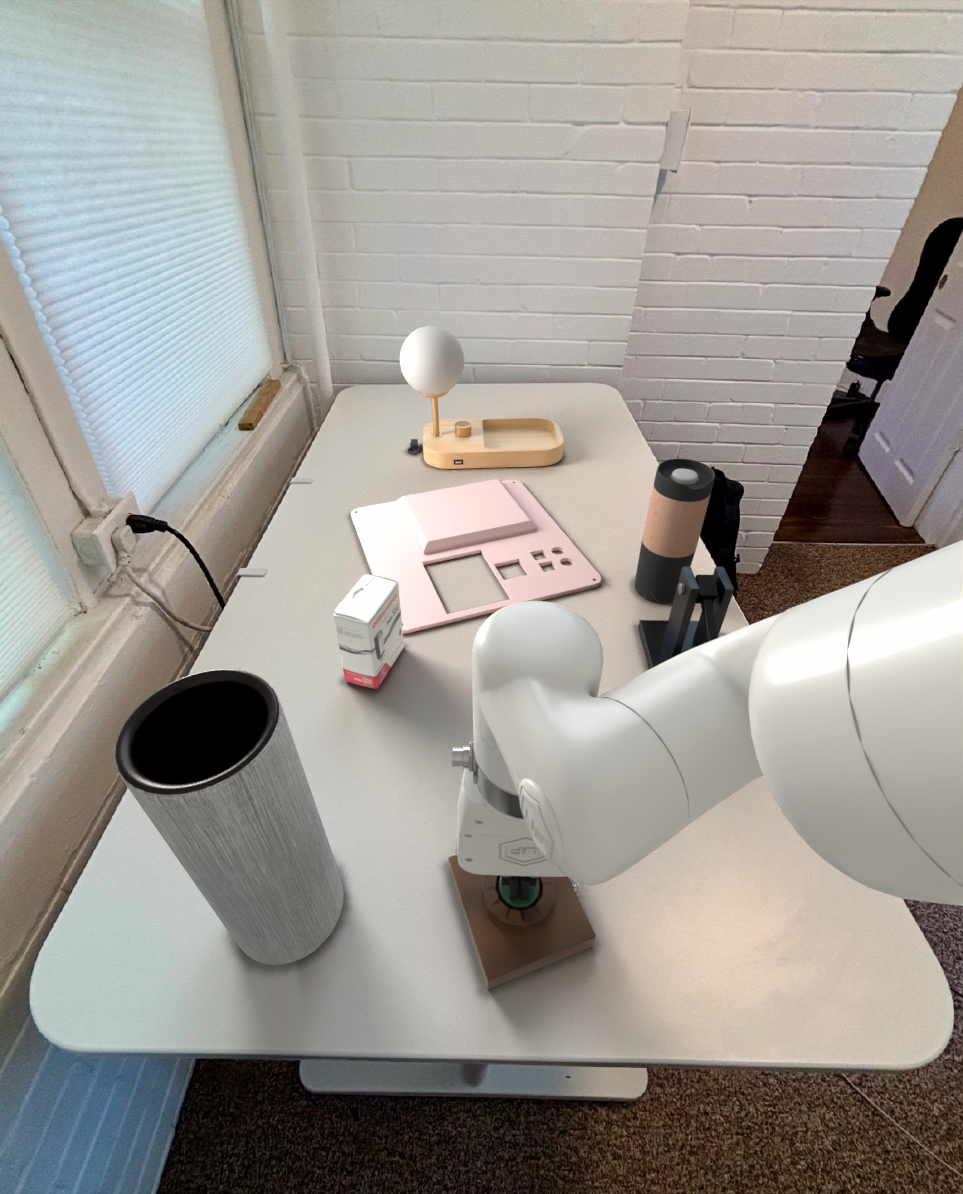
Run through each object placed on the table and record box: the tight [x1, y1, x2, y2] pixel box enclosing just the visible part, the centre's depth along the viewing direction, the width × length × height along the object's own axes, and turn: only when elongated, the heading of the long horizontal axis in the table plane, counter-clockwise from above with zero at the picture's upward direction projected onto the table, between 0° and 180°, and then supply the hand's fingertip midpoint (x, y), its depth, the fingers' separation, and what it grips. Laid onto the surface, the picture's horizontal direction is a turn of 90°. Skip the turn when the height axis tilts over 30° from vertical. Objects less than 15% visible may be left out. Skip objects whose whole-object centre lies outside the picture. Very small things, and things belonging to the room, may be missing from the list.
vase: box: [113, 668, 345, 966], centre depth 46 cm, size 10×10×27 cm
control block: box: [448, 854, 597, 990], centre depth 54 cm, size 11×10×4 cm
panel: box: [350, 478, 602, 635], centre depth 99 cm, size 35×33×2 cm
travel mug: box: [634, 458, 716, 604], centre depth 84 cm, size 8×8×20 cm
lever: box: [695, 574, 719, 642], centre depth 69 cm, size 15×6×2 cm, turn 179°
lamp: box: [399, 325, 565, 470], centre depth 119 cm, size 33×17×25 cm, turn 93°
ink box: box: [333, 573, 405, 690], centre depth 75 cm, size 9×5×12 cm, turn 161°
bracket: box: [637, 566, 735, 670], centre depth 75 cm, size 12×10×14 cm
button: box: [499, 877, 540, 911], centre depth 53 cm, size 4×4×2 cm
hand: (518, 882), depth 52 cm, fingers closed
